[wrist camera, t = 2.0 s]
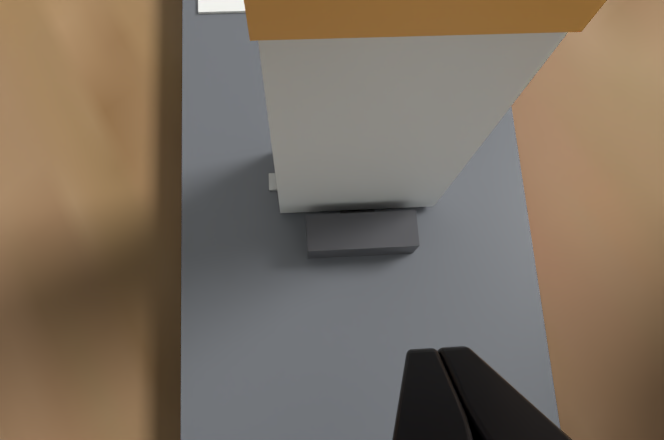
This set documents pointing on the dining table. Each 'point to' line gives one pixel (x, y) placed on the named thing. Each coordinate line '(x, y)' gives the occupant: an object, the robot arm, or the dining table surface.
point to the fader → (393, 90)
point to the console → (332, 270)
